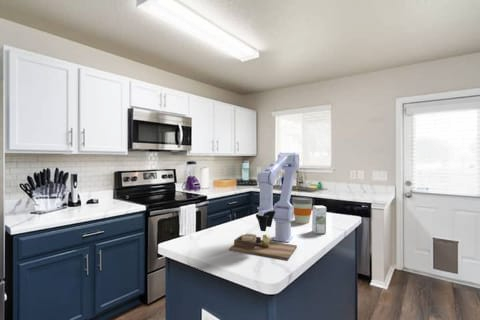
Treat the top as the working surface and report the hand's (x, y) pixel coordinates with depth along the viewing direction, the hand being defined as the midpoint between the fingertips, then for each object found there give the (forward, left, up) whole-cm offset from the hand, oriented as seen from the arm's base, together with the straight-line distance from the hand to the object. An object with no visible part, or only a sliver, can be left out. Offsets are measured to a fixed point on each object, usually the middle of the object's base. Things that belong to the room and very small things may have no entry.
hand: (265, 228), depth 115 cm
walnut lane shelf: (0, -1, -9) cm, 9 cm away
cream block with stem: (0, -5, -8) cm, 9 cm away
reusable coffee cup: (-57, +5, -9) cm, 58 cm away
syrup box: (-37, +18, -9) cm, 42 cm away
